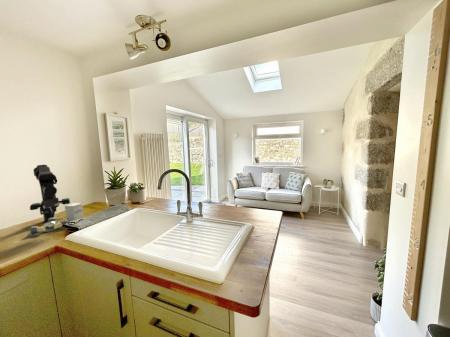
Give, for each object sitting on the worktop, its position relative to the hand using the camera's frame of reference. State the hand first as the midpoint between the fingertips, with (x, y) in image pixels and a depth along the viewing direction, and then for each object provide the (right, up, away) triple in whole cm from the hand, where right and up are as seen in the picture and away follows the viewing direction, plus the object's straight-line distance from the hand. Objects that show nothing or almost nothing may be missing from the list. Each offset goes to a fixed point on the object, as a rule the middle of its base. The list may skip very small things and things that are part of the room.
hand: (53, 216), depth 126 cm
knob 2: (-10, -7, +13) cm, 18 cm away
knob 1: (-7, -9, -2) cm, 12 cm away
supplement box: (+1, -8, +18) cm, 20 cm away
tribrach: (-7, -9, +7) cm, 14 cm away
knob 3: (+2, -7, +4) cm, 9 cm away
